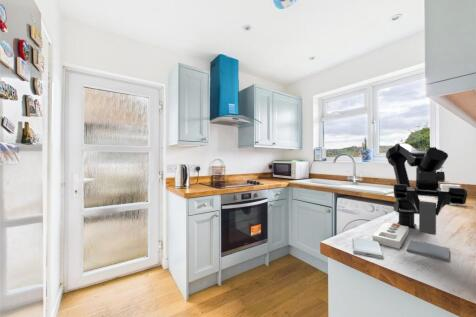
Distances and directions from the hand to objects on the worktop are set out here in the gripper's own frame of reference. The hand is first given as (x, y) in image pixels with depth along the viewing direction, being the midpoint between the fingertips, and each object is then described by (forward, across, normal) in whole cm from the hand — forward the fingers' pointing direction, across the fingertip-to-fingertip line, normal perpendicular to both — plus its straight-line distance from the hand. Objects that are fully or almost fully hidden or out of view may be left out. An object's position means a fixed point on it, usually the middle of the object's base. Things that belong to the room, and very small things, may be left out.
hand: (427, 213), depth 68 cm
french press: (-78, +11, +98) cm, 126 cm away
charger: (+4, 0, +6) cm, 7 cm away
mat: (+8, 0, +10) cm, 13 cm away
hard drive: (+17, -16, +3) cm, 23 cm away
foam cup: (-66, +14, +85) cm, 108 cm away
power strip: (+3, -10, +16) cm, 19 cm away
